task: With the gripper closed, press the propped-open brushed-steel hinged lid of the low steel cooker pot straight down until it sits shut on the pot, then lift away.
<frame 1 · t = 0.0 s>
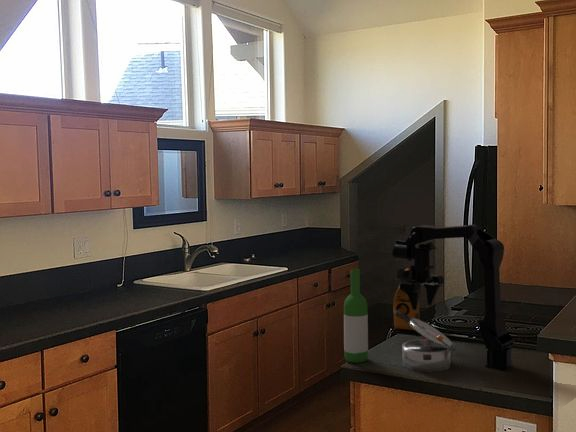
hand: (422, 307, 223), 15 cm above the counter, fingers open, 9 cm apart
onion: (430, 348, 225), on the counter
lid: (425, 328, 207), point 12 cm above the counter, hinge at 30.0°
wine bottle: (356, 360, 214), on the counter
cooker pot: (426, 364, 208), on the counter
coffee package: (406, 326, 255), on the counter
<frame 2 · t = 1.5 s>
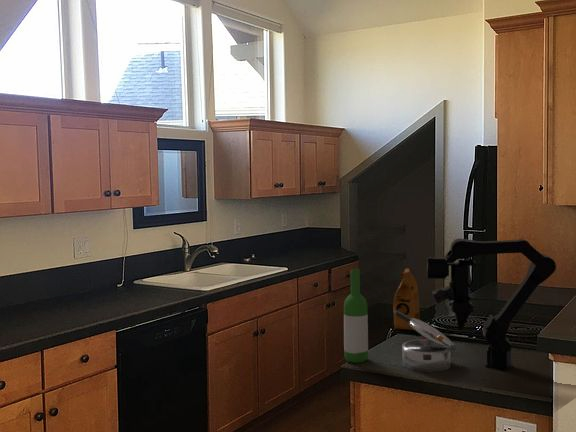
hand: (460, 328, 205), 12 cm above the counter, fingers open, 3 cm apart
nothing on the counter moved.
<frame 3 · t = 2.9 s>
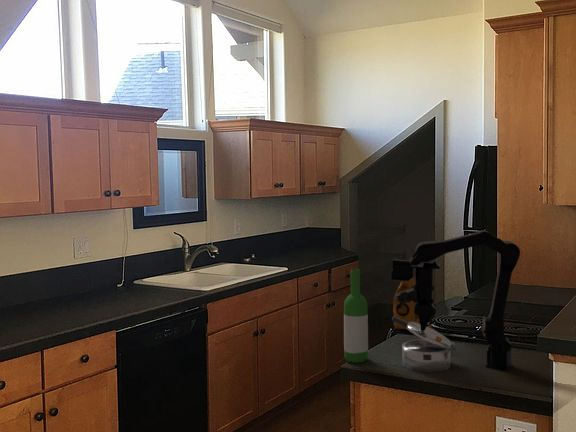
hand: (422, 330, 207), 11 cm above the counter, fingers closed, pressing on lid
lid: (424, 330, 207), point 11 cm above the counter, hinge at 23.9°, touching gripper
everything else where it was.
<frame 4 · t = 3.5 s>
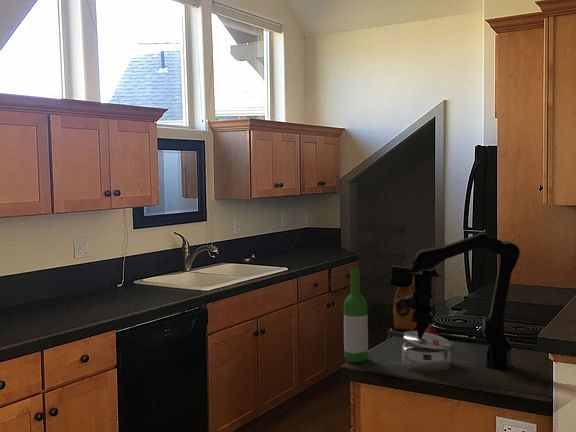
hand: (419, 337, 207), 9 cm above the counter, fingers closed, pressing on lid
lid: (421, 337, 207), point 9 cm above the counter, hinge at 9.6°, touching gripper
everything else where it was.
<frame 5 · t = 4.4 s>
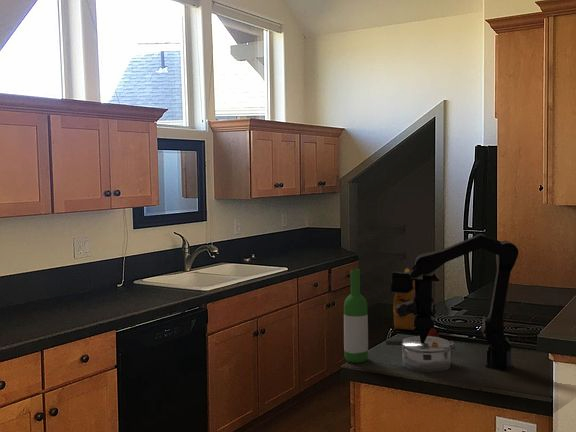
hand: (422, 342, 207), 7 cm above the counter, fingers closed, pressing on lid
lid: (420, 342, 208), point 7 cm above the counter, hinge at 0.4°, touching gripper
everything else where it was.
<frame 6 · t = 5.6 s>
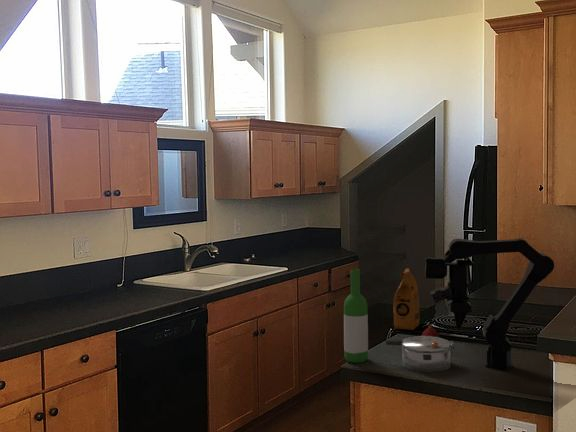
hand: (458, 328, 205), 12 cm above the counter, fingers closed
lid: (420, 342, 208), point 7 cm above the counter, hinge at 0.4°
everything else where it was.
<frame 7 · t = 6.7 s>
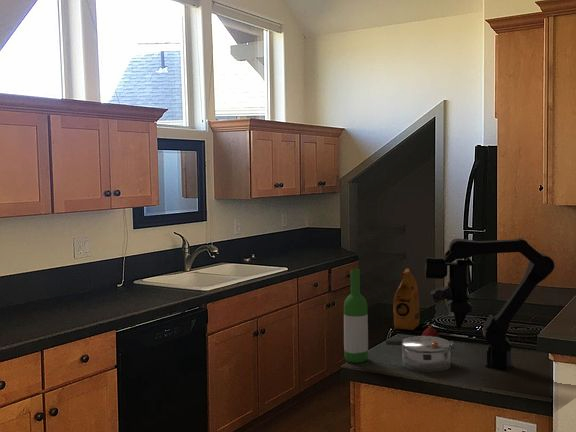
hand: (458, 328, 205), 12 cm above the counter, fingers closed
nothing on the counter moved.
at the end: lid at +0° (first picture: +30°) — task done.
